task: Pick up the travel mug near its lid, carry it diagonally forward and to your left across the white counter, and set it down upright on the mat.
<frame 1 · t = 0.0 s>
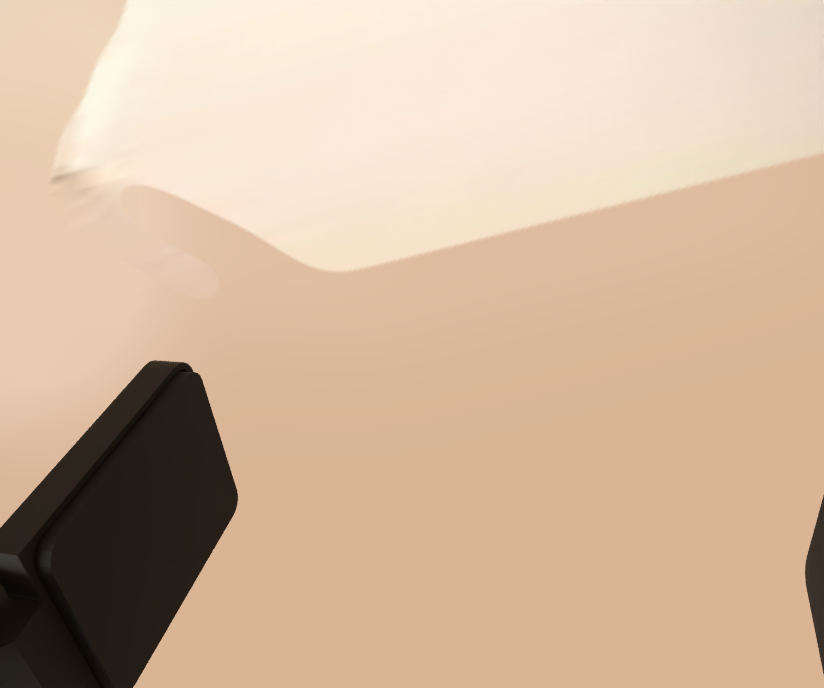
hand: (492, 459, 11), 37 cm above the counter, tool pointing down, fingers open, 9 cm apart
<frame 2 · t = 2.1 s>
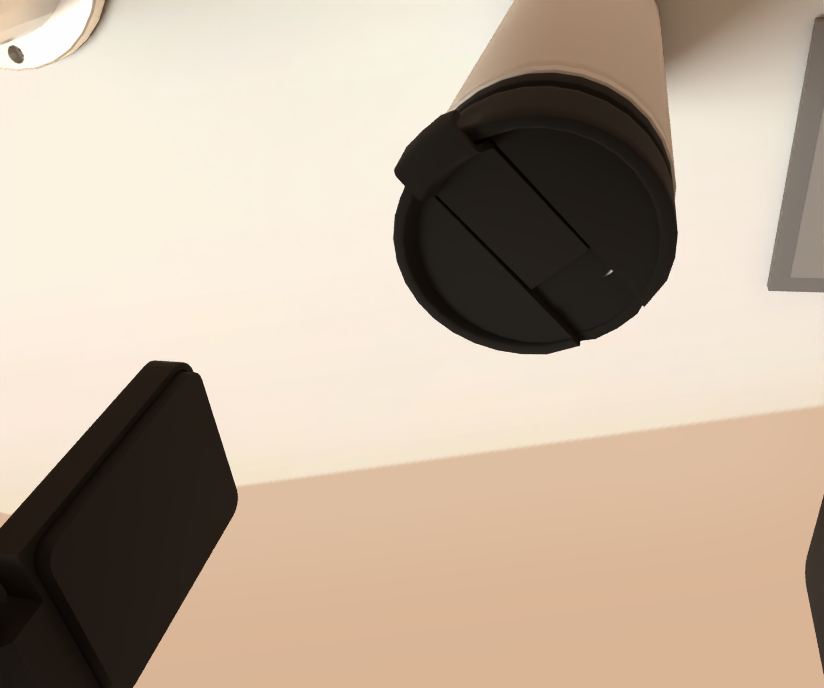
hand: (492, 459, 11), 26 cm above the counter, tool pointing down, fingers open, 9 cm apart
travel mug: (579, 29, 32), on the counter
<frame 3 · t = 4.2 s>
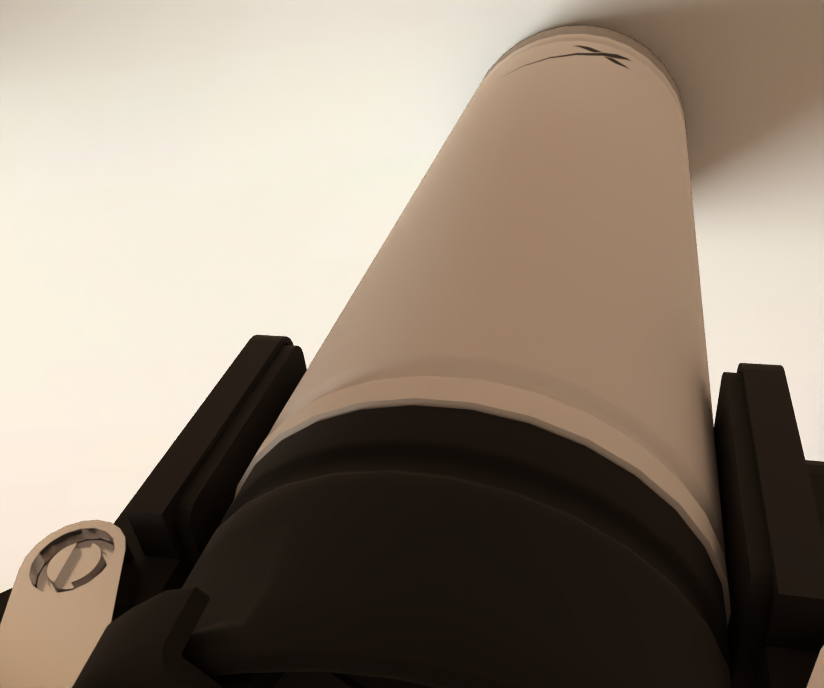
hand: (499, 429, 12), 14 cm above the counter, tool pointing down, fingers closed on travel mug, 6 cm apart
travel mug: (570, 127, 23), on the counter, touching gripper
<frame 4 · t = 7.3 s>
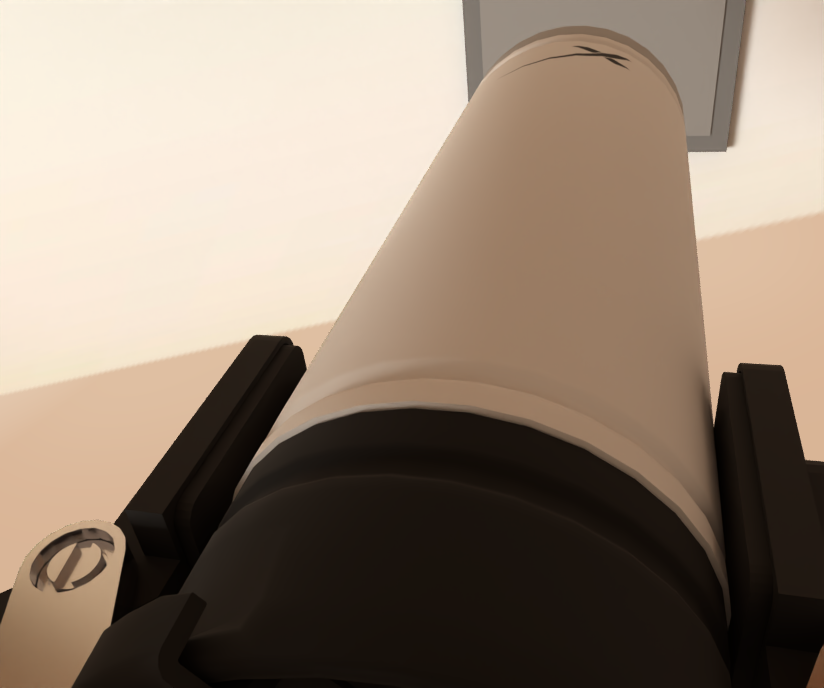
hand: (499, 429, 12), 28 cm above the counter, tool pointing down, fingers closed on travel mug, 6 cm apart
travel mug: (569, 128, 23), point 14 cm above the counter, touching gripper
mat: (598, 18, 34), on the counter
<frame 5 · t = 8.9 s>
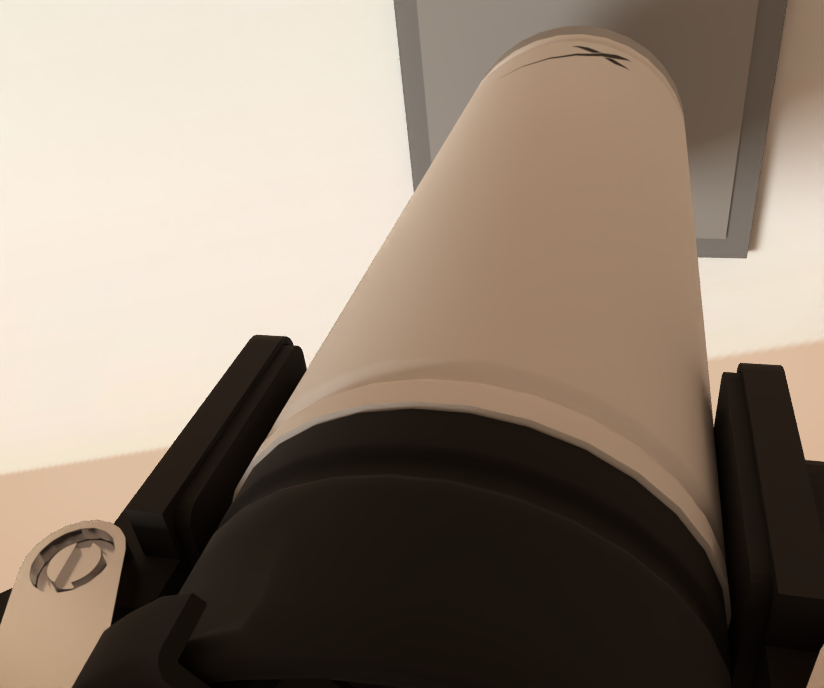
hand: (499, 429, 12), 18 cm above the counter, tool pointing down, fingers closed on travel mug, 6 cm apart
travel mug: (569, 128, 23), point 4 cm above the counter, touching gripper
mat: (578, 88, 26), on the counter
when the fingers open (15 cm above the counter, at t = 10.4 s): travel mug stays where it is, resting on mat.
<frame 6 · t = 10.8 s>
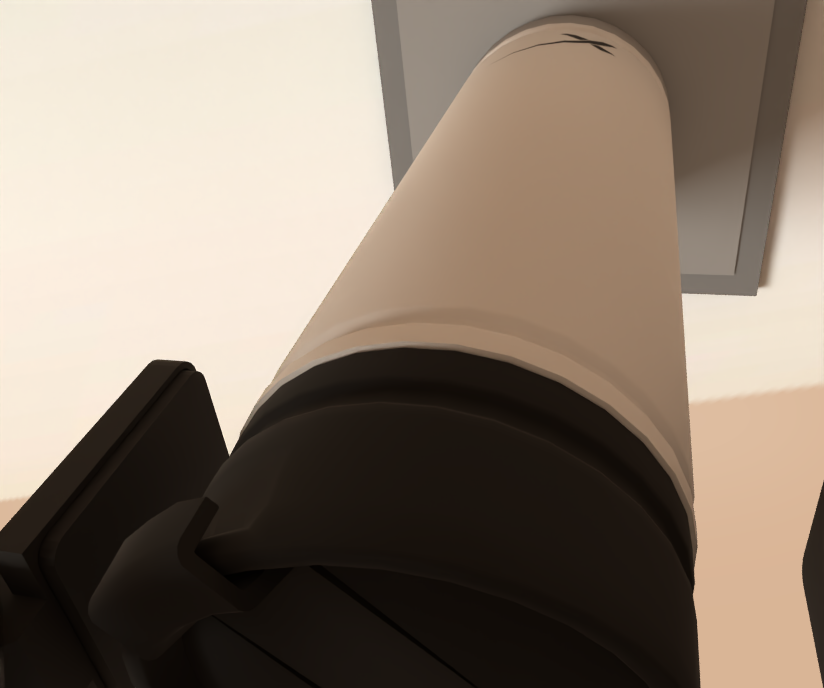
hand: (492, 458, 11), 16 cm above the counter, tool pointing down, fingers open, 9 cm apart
travel mug: (559, 115, 24), resting on mat
mat: (574, 114, 24), on the counter
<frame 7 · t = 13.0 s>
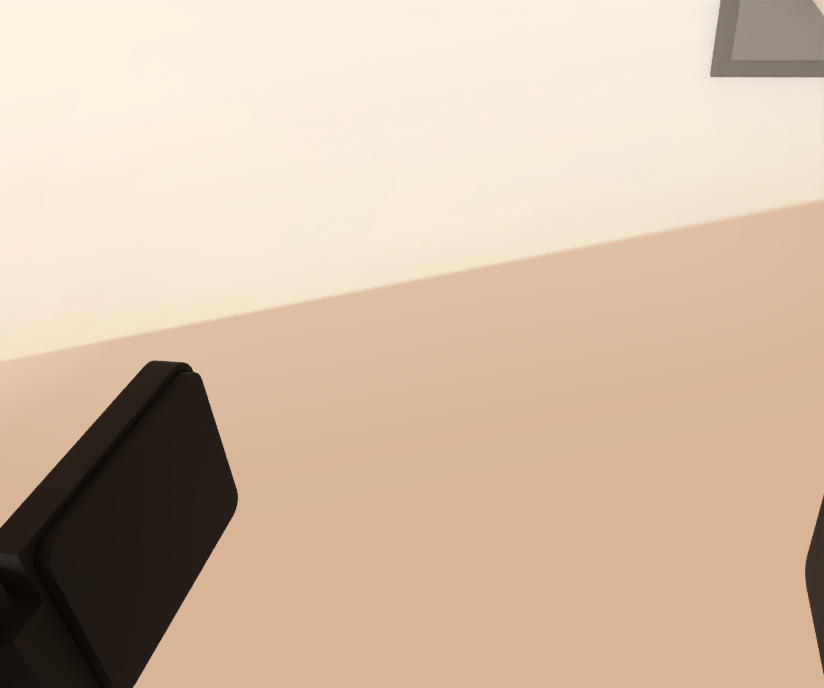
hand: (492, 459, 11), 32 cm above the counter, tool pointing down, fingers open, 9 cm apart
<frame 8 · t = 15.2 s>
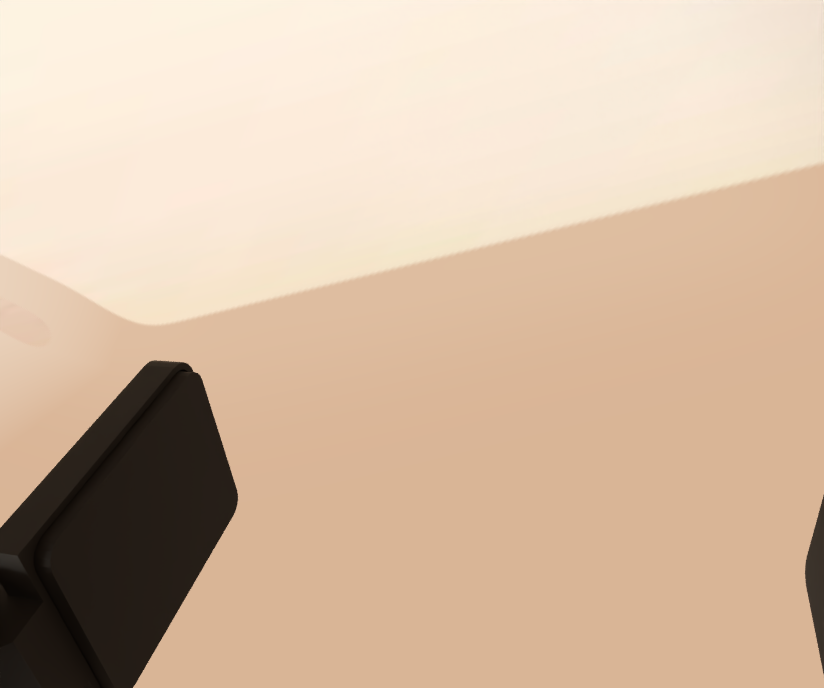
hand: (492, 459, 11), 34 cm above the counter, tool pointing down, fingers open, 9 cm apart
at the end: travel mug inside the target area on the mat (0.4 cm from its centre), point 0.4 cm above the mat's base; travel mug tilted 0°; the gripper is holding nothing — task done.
